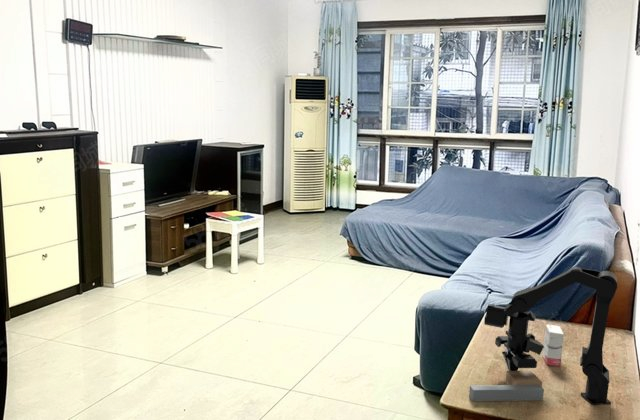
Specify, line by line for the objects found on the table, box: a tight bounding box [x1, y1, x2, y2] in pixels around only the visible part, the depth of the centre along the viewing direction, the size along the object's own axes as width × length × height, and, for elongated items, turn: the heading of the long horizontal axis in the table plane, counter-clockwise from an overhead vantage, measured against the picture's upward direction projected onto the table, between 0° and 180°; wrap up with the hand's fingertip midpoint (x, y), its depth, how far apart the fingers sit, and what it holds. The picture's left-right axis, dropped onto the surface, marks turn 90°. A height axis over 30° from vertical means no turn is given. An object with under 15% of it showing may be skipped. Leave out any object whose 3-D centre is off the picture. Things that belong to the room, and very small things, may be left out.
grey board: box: [468, 384, 545, 402], centre depth 183 cm, size 3×22×4 cm, turn 96°
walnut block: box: [504, 370, 543, 388], centre depth 189 cm, size 8×8×4 cm
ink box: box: [542, 324, 565, 367], centre depth 212 cm, size 9×5×12 cm, turn 168°
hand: (512, 376), depth 195 cm, fingers closed
